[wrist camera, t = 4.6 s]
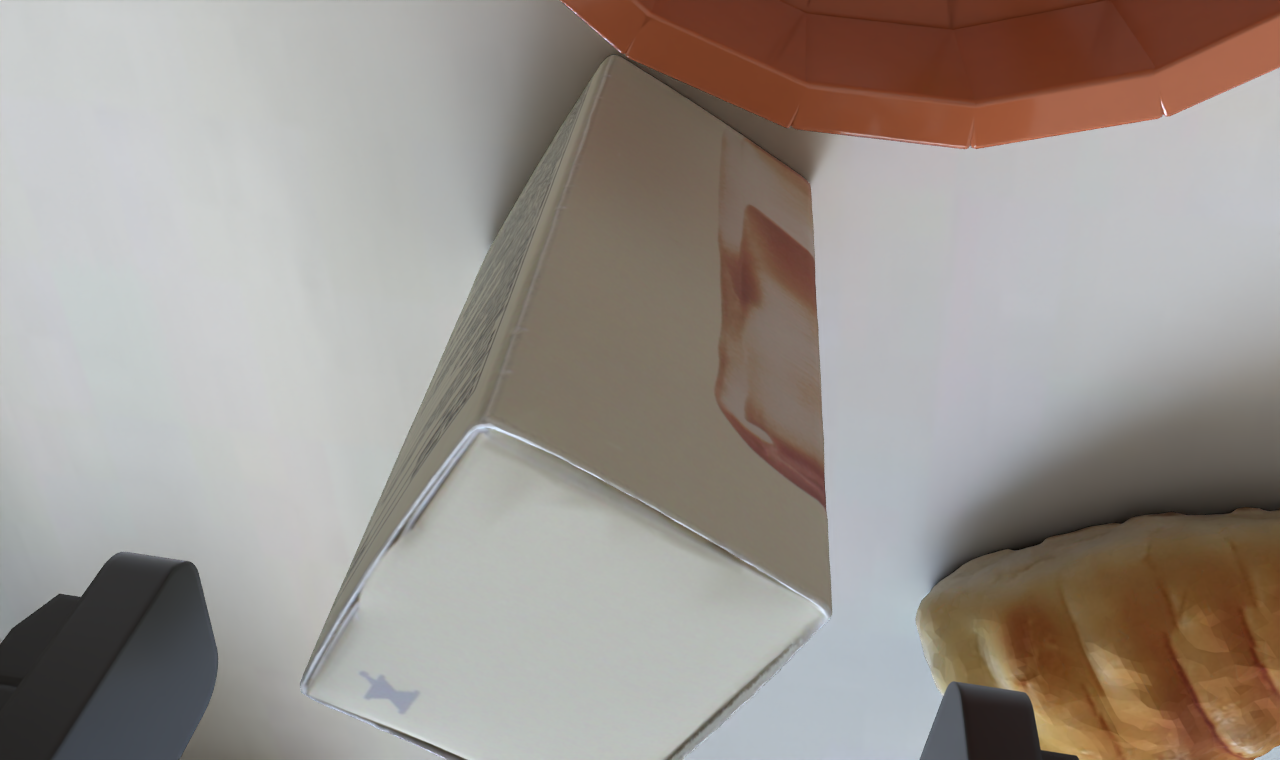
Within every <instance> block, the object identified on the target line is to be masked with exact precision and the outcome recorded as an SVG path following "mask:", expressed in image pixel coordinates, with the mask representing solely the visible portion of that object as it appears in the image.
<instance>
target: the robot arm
mask: <svg viewBox="0 0 1280 760" xmlns="http://www.w3.org/2000/svg"><path fill="white" fill-rule="evenodd" d="M217 669H218V652H217V647H216V643H215V639H214V635H213V630H212V626H211V622H210V618H209V614H208V610H207V606H206V602H205V597H204V593H203V589H202V585H201V581H200V577H199V573H198V570H197V568H196V566H195V565H194V564H193V563H191V562H189V561H182V560H176V559H169V558H163V557H156V556H149V555H143V554H136V553H130V552H120V553H117V554H115V555H114V556H112V557H111V558H110V559H109V560H108V561H107V562H106V563H105V565H104V566H103V567H102V568H101V570H100V571H99V573H98V574H97V576H96V577H95V578H94V580H93V581H92V583H91V584H90V585H89V587H88V588H87V590H86V591H85V592H84V594H83V595H82V597H77V596H70V595H64V594H58V595H57V596H56V597H54V598H53V599H52V600H50V601H49V602H48V603H46V604H45V605H43V606H42V607H41V608H39V609H38V610H37V611H35V612H34V613H33V614H31V615H30V616H29V617H27V618H26V619H24V620H23V621H22V622H20V623H19V624H18V625H16V626H15V627H14V628H12V629H11V631H10V632H9V633H8V635H7V636H6V637H5V639H4V640H3V641H2V643H1V644H0V760H179V759H180V757H181V755H182V754H183V752H184V750H185V748H186V746H187V744H188V742H189V740H190V739H191V737H192V735H193V733H194V731H195V729H196V727H197V725H198V724H199V722H200V720H201V718H202V716H203V714H204V712H205V710H206V708H207V706H208V704H209V701H210V699H211V696H212V693H213V690H214V686H215V682H216V677H217ZM920 760H1079V758H1078V757H1077V756H1076V755H1070V754H1063V753H1057V752H1051V751H1044V750H1041V749H1040V743H1039V737H1038V732H1037V726H1036V720H1035V715H1034V710H1033V705H1032V703H1031V700H1030V698H1029V696H1028V695H1027V694H1026V693H1025V692H1021V691H1014V690H1007V689H1001V688H994V687H988V686H981V685H975V684H968V683H962V682H955V681H953V682H951V683H950V684H949V685H948V687H947V689H946V691H945V693H944V696H943V699H942V701H941V704H940V707H939V709H938V712H937V715H936V717H935V720H934V723H933V725H932V728H931V731H930V733H929V736H928V739H927V741H926V744H925V747H924V749H923V752H922V755H921V757H920Z"/></svg>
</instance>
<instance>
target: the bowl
mask: <svg viewBox="0 0 1280 760" xmlns="http://www.w3.org/2000/svg"><path fill="white" fill-rule="evenodd" d="M560 1H561V2H562V3H563V4H564V5H566V6H567V7H568V8H569V9H570V10H571V11H572V12H574V13H575V14H576V15H577V16H578V17H579V18H581V19H582V20H583V21H584V22H585V23H586V24H587V25H589V26H590V27H591V28H592V29H593V30H594V31H596V32H597V33H598V34H599V35H600V36H601V37H602V38H604V39H605V40H606V41H607V42H608V43H609V44H611V45H612V46H613V47H614V48H615V49H616V50H617V51H619V52H620V53H622V54H625V56H626V57H627V58H629V59H631V60H634V61H636V62H638V63H640V64H643V65H645V66H647V67H649V68H652V69H654V70H656V71H658V72H661V73H663V74H665V75H668V76H670V77H672V78H674V79H677V80H679V81H681V82H683V83H686V84H688V85H690V86H692V87H695V88H697V89H699V90H701V91H704V92H706V93H708V94H710V95H713V96H715V97H717V98H720V99H722V100H724V101H726V102H729V103H731V104H733V105H735V106H738V107H740V108H742V109H744V110H747V111H749V112H751V113H753V114H756V115H758V116H760V117H762V118H765V119H767V120H769V121H772V122H774V123H776V124H778V125H781V126H783V127H785V128H789V127H790V126H791V127H792V128H794V129H797V130H806V131H814V132H823V133H831V134H840V135H848V136H857V137H866V138H874V139H883V140H891V141H900V142H908V143H917V144H925V145H934V146H942V147H951V148H959V149H967V148H969V146H971V147H972V148H975V149H978V148H984V147H990V146H996V145H1002V144H1008V143H1014V142H1020V141H1026V140H1032V139H1038V138H1044V137H1050V136H1056V135H1062V134H1068V133H1074V132H1080V131H1086V130H1092V129H1098V128H1104V127H1110V126H1116V125H1122V124H1128V123H1134V122H1140V121H1146V120H1152V119H1158V118H1160V117H1162V115H1163V114H1164V115H1165V116H1166V117H1167V116H1171V115H1173V114H1176V113H1178V112H1180V111H1182V110H1185V109H1187V108H1189V107H1191V106H1194V105H1196V104H1198V103H1200V102H1203V101H1205V100H1207V99H1209V98H1212V97H1214V96H1216V95H1218V94H1221V93H1223V92H1225V91H1227V90H1230V89H1232V88H1234V87H1237V86H1239V85H1241V84H1243V83H1246V82H1248V81H1250V80H1252V79H1255V78H1257V77H1259V76H1261V75H1264V74H1266V73H1268V72H1270V71H1273V70H1275V69H1277V68H1279V67H1280V0H560Z"/></svg>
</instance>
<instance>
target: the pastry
mask: <svg viewBox="0 0 1280 760" xmlns="http://www.w3.org/2000/svg"><path fill="white" fill-rule="evenodd" d="M916 625H917V629H918V632H919V635H920V639H921V643H922V647H923V651H924V655H925V658H926V661H927V663H928V665H929V667H930V669H931V673H932V676H933V679H934V682H935V684H936V686H937V688H938V690H939V691H940V693H941V694H942V695H943V696H944V693H945V691H946V689H947V687H948V685H949V684H950V683H951V682H953V681H955V682H962V683H968V684H975V685H981V686H988V687H994V688H1001V689H1007V690H1014V691H1021V692H1025V693H1026V694H1027V695H1028V696H1029V698H1030V700H1031V703H1032V705H1033V710H1034V715H1035V720H1036V726H1037V732H1038V737H1039V743H1040V749H1041V750H1044V751H1051V752H1057V753H1063V754H1070V755H1076V756H1077V757H1078V758H1079V760H1254V759H1255V758H1257V757H1261V756H1262V755H1264V754H1266V753H1268V752H1269V751H1270V750H1272V749H1273V748H1274V747H1276V746H1279V745H1280V510H1275V511H1265V510H1262V509H1260V508H1250V507H1246V508H1237V509H1236V510H1235V511H1233V512H1232V513H1229V514H1216V515H1184V514H1180V513H1176V512H1166V513H1162V514H1152V515H1142V516H1136V517H1132V518H1130V519H1128V520H1127V521H1125V522H1124V523H1123V524H1118V523H1110V524H1105V525H1098V526H1091V527H1087V528H1084V529H1081V530H1078V531H1075V532H1071V533H1068V534H1062V535H1057V536H1052V537H1048V538H1046V539H1045V540H1044V541H1043V542H1042V543H1041V544H1039V545H1036V546H1033V547H1028V548H1025V549H1021V550H1016V551H1013V550H1010V549H1006V550H1001V551H998V552H994V553H991V554H987V555H983V556H981V557H978V558H975V559H973V560H971V561H969V562H967V563H965V564H963V565H962V566H961V567H960V568H958V569H957V570H956V571H955V572H953V573H952V574H950V575H949V576H947V577H946V578H944V579H943V580H941V581H940V582H939V583H938V584H936V585H935V586H934V587H933V588H932V590H931V592H930V593H929V594H928V595H927V596H926V597H925V598H924V599H923V600H922V601H921V603H920V606H919V608H918V610H917V614H916Z"/></svg>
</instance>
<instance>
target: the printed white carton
mask: <svg viewBox="0 0 1280 760" xmlns="http://www.w3.org/2000/svg"><path fill="white" fill-rule="evenodd" d="M831 615H832V599H831V576H830V562H829V542H828V519H827V512H826V494H825V478H824V436H823V421H822V401H821V374H820V357H819V336H818V320H817V305H816V286H815V252H814V231H813V215H812V199H811V186H810V183H809V182H808V181H807V180H806V179H805V178H803V177H802V176H801V175H800V174H798V173H797V172H795V171H794V170H792V169H791V168H789V167H788V166H787V165H785V164H784V163H782V162H781V161H779V160H778V159H776V158H775V157H773V156H772V155H771V154H769V153H768V152H766V151H765V150H763V149H762V148H760V147H759V146H758V145H756V144H755V143H753V142H752V141H750V140H749V139H747V138H746V137H745V136H743V135H741V134H740V133H738V132H737V131H735V130H734V129H732V128H731V127H729V126H728V125H726V124H725V123H723V122H722V121H720V120H719V119H717V118H716V117H715V116H713V115H712V114H710V113H709V112H707V111H706V110H704V109H702V108H701V107H699V106H698V105H696V104H695V103H693V102H692V101H690V100H689V99H687V98H685V97H684V96H682V95H681V94H679V93H678V92H676V91H675V90H673V89H672V88H670V87H669V86H667V85H665V84H664V83H662V82H661V81H659V80H657V79H656V78H654V77H652V76H651V75H649V74H647V73H646V72H644V71H642V70H641V69H639V68H638V67H636V66H635V65H633V64H632V63H630V62H628V61H627V60H625V59H623V58H622V57H620V56H618V55H612V56H609V57H607V58H606V59H605V60H604V61H603V62H602V63H601V65H600V66H599V68H598V69H597V71H596V72H595V74H594V75H593V77H592V79H591V80H590V82H589V83H588V85H587V86H586V88H585V89H584V91H583V93H582V94H581V96H580V98H579V99H578V101H577V102H576V104H575V105H574V107H573V108H572V110H571V112H570V113H569V115H568V116H567V118H566V119H565V121H564V123H563V124H562V126H561V127H560V129H559V131H558V132H557V134H556V135H555V137H554V139H553V140H552V142H551V144H550V146H549V147H548V149H547V150H546V152H545V154H544V155H543V157H542V159H541V160H540V162H539V164H538V165H537V167H536V169H535V170H534V172H533V174H532V175H531V177H530V179H529V181H528V182H527V184H526V186H525V187H524V189H523V191H522V192H521V194H520V196H519V198H518V199H517V201H516V203H515V205H514V206H513V208H512V210H511V211H510V213H509V215H508V217H507V218H506V220H505V222H504V224H503V226H502V227H501V229H500V231H499V233H498V235H497V236H496V238H495V240H494V242H493V244H492V245H491V247H490V249H489V251H488V253H487V254H486V257H485V259H484V261H483V263H482V265H481V267H480V270H479V272H478V274H477V276H476V279H475V281H474V284H473V286H472V289H471V291H470V294H469V296H468V298H467V301H466V303H465V305H464V307H463V309H462V312H461V314H460V316H459V318H458V320H457V323H456V325H455V327H454V330H453V332H452V334H451V337H450V339H449V341H448V344H447V346H446V348H445V351H444V353H443V355H442V358H441V360H440V362H439V365H438V367H437V369H436V372H435V374H434V376H433V379H432V381H431V383H430V385H429V388H428V390H427V392H426V394H425V397H424V399H423V402H422V404H421V406H420V408H419V410H418V413H417V415H416V417H415V419H414V422H413V424H412V426H411V428H410V430H409V433H408V435H407V437H406V439H405V442H404V444H403V446H402V448H401V451H400V453H399V455H398V458H397V460H396V462H395V465H394V467H393V469H392V471H391V474H390V476H389V478H388V481H387V483H386V485H385V488H384V490H383V492H382V495H381V497H380V499H379V501H378V504H377V506H376V508H375V510H374V513H373V515H372V517H371V519H370V522H369V524H368V526H367V529H366V531H365V533H364V536H363V538H362V540H361V542H360V545H359V547H358V549H357V552H356V554H355V556H354V558H353V561H352V563H351V565H350V567H349V570H348V572H347V574H346V577H345V579H344V581H343V583H342V586H341V588H340V590H339V593H338V595H337V597H336V599H335V602H334V604H333V606H332V608H331V611H330V613H329V615H328V618H327V620H326V623H325V625H324V627H323V630H322V632H321V634H320V636H319V639H318V641H317V643H316V646H315V648H314V650H313V653H312V655H311V658H310V660H309V662H308V665H307V667H306V669H305V672H304V674H303V677H302V680H301V682H300V688H301V693H303V694H304V695H306V696H308V697H309V698H311V699H312V700H314V701H317V702H319V703H321V704H323V705H325V706H327V707H329V708H331V709H334V710H337V711H339V712H342V713H344V714H347V715H349V716H351V717H353V718H356V719H358V720H360V721H363V722H365V723H368V724H370V725H372V726H374V727H376V728H377V729H379V730H382V731H385V732H387V733H390V734H392V735H394V736H396V737H398V738H400V739H403V740H406V741H408V742H410V743H412V744H414V745H417V746H419V747H421V748H423V749H425V750H427V751H430V752H431V753H433V754H435V755H436V756H439V757H442V758H445V759H447V760H683V759H684V758H685V757H686V756H687V755H689V754H690V753H691V752H692V751H694V750H695V749H696V748H697V747H698V746H699V745H700V744H701V743H702V742H703V741H704V740H706V739H707V738H708V737H709V736H710V735H711V734H712V733H713V732H714V731H716V730H717V729H718V728H719V727H720V726H721V725H722V724H723V723H724V722H725V721H726V720H727V719H728V718H729V717H731V716H732V715H733V714H734V713H735V712H736V711H737V710H738V709H739V708H740V707H741V706H743V705H744V704H745V703H746V702H748V701H749V700H750V699H751V698H752V697H753V696H754V695H755V694H756V693H757V692H758V691H759V690H760V688H761V687H762V686H764V685H765V684H766V683H767V682H768V681H769V680H770V679H771V678H772V677H773V676H774V675H776V674H777V673H778V672H779V671H780V670H781V668H782V667H783V666H784V665H785V664H787V663H788V662H789V661H790V660H791V659H792V658H793V656H794V655H795V654H796V653H797V652H798V651H799V650H800V649H801V648H802V647H803V646H804V645H805V644H806V643H807V642H808V641H809V640H810V639H811V638H812V637H813V635H814V634H815V633H816V632H817V631H818V630H819V629H821V628H822V627H823V626H824V625H825V624H826V623H827V622H828V621H829V620H830V619H831Z"/></svg>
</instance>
